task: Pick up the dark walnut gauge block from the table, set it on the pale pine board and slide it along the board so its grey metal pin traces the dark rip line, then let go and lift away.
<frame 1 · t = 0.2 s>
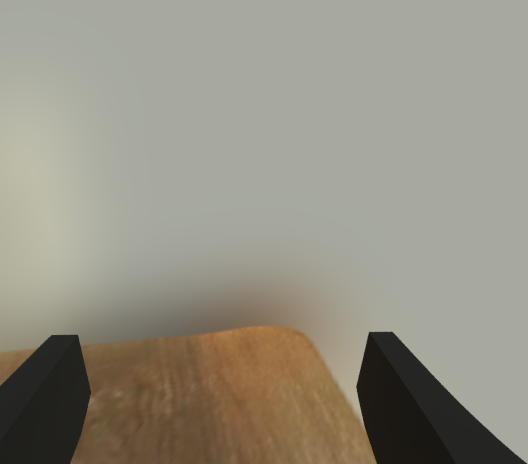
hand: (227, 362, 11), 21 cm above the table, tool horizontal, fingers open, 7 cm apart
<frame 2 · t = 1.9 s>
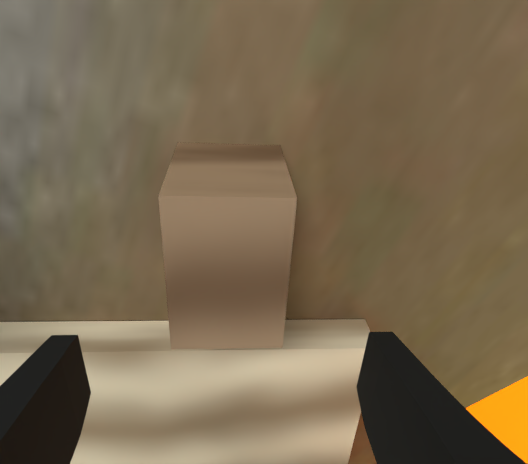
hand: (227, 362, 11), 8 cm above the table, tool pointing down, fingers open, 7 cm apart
gauge block: (228, 211, 18), on the table
pine board: (81, 404, 23), on the table
orange juice: (501, 431, 27), on the table
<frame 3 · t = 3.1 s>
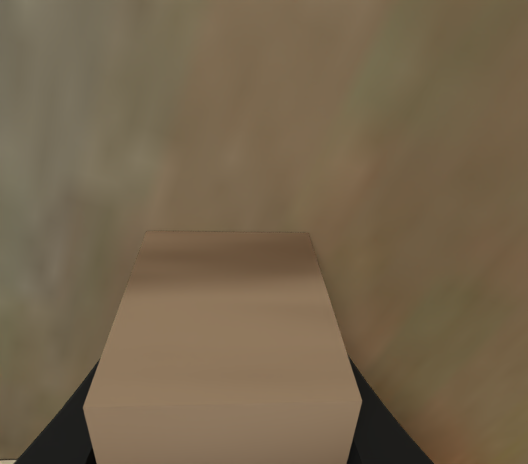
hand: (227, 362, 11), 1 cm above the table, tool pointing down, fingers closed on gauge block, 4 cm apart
gauge block: (227, 323, 12), on the table, touching gripper
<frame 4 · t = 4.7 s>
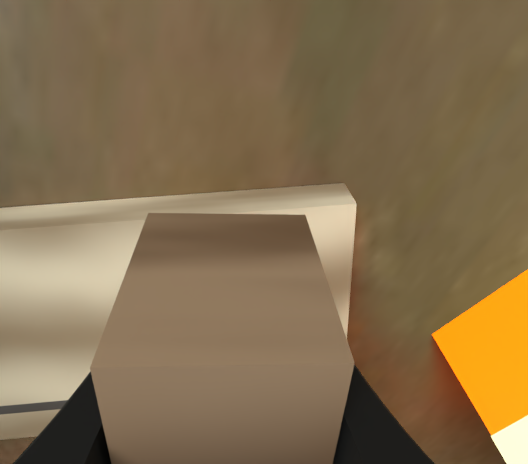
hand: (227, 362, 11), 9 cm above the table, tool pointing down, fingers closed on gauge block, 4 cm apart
gauge block: (227, 305, 12), point 7 cm above the table, touching gripper
pine board: (30, 319, 20), on the table
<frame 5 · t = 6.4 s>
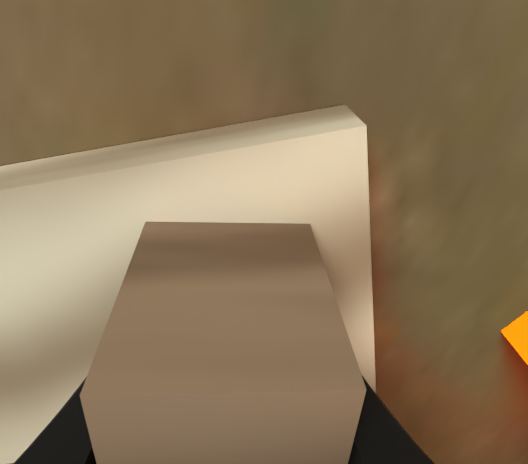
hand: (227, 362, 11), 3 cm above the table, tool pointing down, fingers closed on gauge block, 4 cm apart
gauge block: (228, 317, 12), point 2 cm above the table, touching gripper, pine board
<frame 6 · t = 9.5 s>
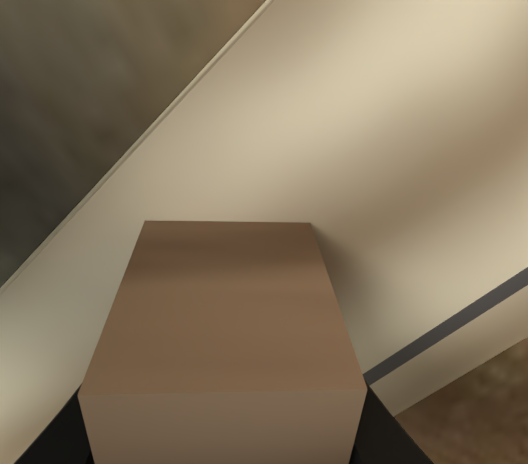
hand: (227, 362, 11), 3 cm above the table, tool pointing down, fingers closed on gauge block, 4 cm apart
gauge block: (227, 316, 12), point 2 cm above the table, touching gripper
pine board: (340, 227, 13), on the table
when the fingers open (3 cm above the table, at t = 12.2 s): gauge block stays where it is, resting on pine board.
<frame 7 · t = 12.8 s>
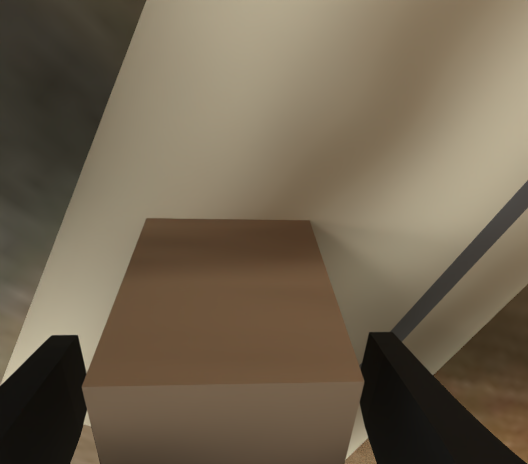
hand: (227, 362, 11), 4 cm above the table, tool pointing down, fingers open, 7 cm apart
gauge block: (228, 313, 12), point 2 cm above the table, touching pine board
pine board: (432, 30, 10), on the table
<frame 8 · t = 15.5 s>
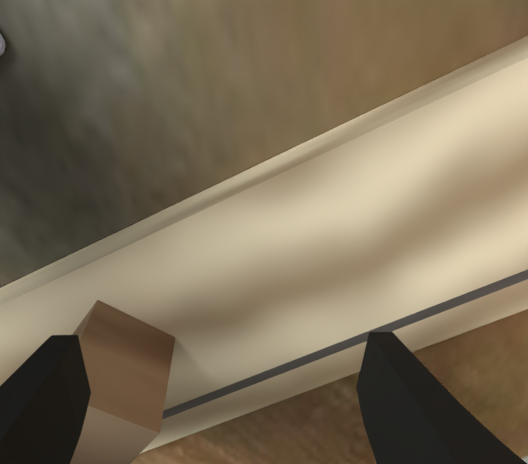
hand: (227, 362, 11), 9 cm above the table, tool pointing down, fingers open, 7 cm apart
gauge block: (106, 358, 20), point 2 cm above the table, touching pine board
pine board: (275, 281, 21), on the table
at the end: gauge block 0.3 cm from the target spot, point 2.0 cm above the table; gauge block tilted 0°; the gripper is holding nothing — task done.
